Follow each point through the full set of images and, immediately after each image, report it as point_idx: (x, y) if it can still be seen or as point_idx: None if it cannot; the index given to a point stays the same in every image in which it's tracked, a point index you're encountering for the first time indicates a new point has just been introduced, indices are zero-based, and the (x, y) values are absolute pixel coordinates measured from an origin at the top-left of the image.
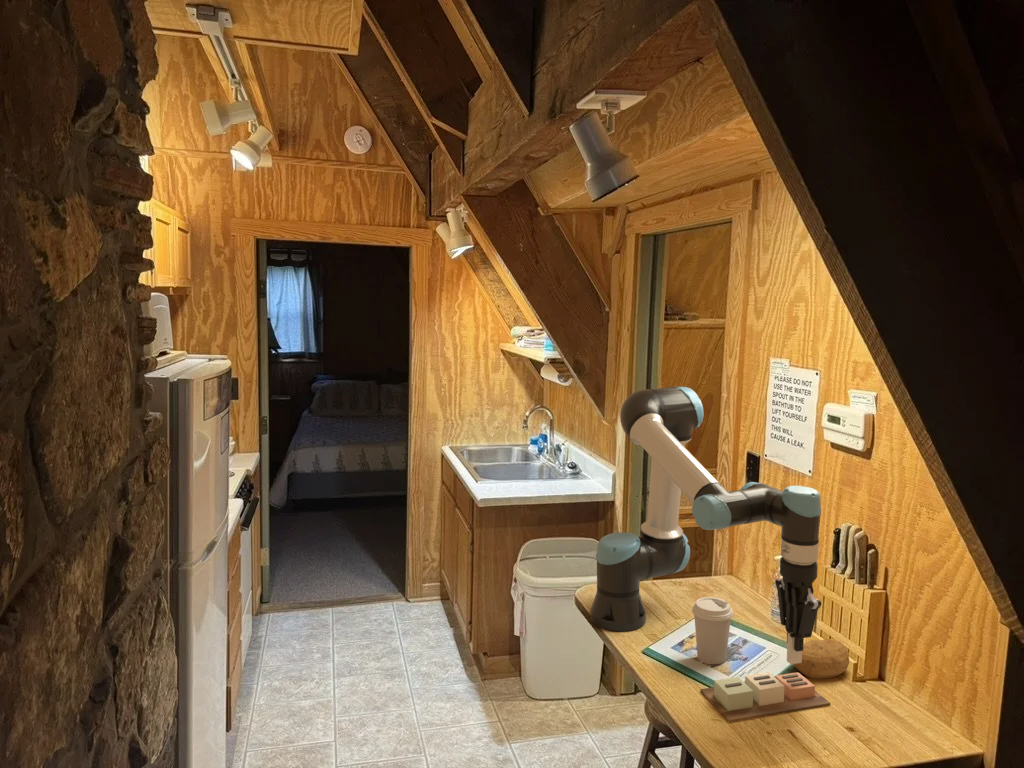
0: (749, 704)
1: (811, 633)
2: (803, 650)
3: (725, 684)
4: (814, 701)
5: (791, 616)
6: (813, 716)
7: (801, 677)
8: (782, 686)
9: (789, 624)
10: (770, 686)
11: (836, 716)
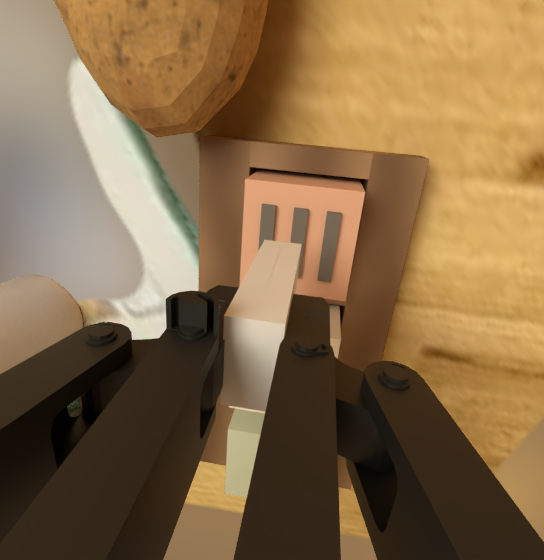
0: None
1: (437, 405)
2: (144, 78)
3: None
4: (391, 213)
5: (165, 524)
6: (412, 234)
7: (286, 197)
8: (339, 346)
9: (200, 457)
10: None
11: (455, 155)
